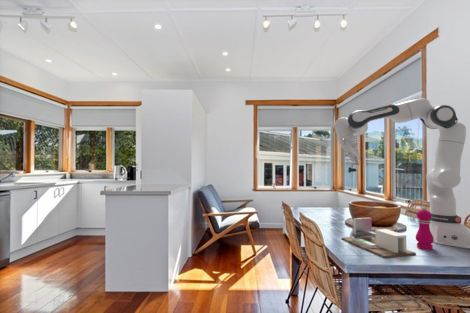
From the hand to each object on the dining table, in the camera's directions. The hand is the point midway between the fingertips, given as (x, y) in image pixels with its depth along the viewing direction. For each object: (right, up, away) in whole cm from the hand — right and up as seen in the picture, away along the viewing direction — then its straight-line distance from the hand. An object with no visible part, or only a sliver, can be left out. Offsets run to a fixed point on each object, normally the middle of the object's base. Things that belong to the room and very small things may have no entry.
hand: (355, 163), depth 153 cm
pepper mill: (+23, -41, -23) cm, 52 cm away
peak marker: (-6, -38, -15) cm, 41 cm away
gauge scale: (-5, -40, -20) cm, 44 cm away
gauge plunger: (0, -39, -18) cm, 43 cm away
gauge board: (0, -41, -21) cm, 45 cm away
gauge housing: (+4, -39, -27) cm, 48 cm away
